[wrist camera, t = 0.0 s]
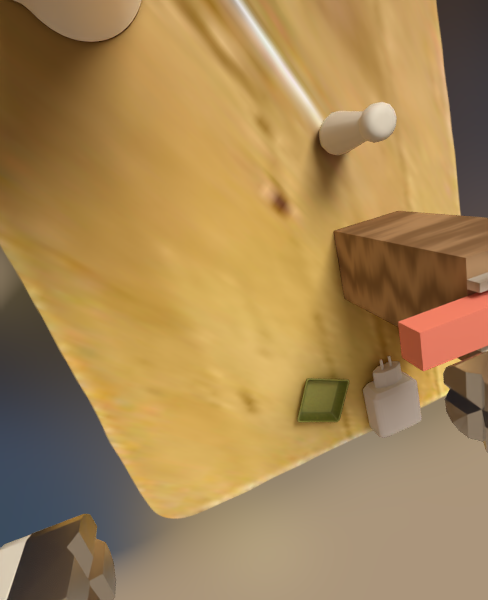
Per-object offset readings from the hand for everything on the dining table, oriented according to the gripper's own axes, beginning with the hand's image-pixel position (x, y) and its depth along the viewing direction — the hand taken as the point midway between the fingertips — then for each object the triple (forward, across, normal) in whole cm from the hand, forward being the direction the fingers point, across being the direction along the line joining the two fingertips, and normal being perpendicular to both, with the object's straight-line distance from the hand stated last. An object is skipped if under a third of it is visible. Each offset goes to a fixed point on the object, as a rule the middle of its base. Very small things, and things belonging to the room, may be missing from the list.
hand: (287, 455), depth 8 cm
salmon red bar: (+22, -29, +13) cm, 39 cm away
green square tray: (+49, -18, +36) cm, 63 cm away
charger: (+48, -31, +39) cm, 70 cm away
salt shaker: (+48, -28, -7) cm, 56 cm away
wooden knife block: (+48, -32, +13) cm, 59 cm away
